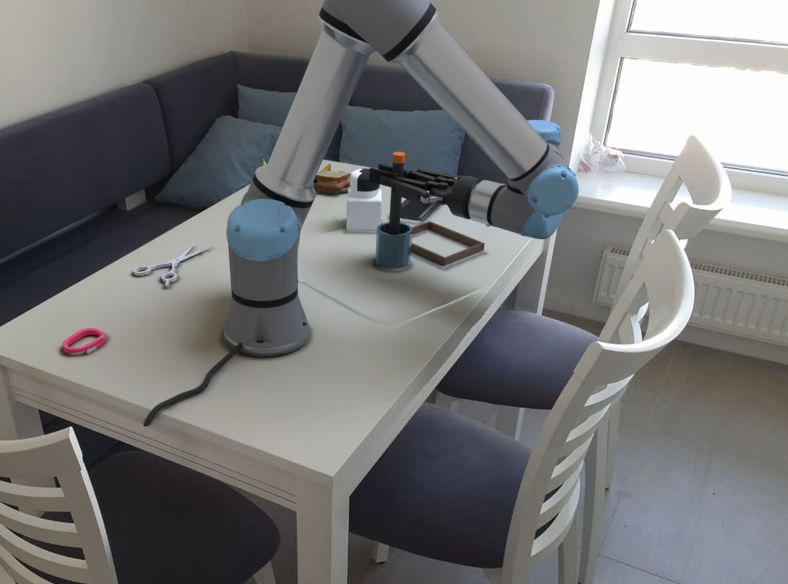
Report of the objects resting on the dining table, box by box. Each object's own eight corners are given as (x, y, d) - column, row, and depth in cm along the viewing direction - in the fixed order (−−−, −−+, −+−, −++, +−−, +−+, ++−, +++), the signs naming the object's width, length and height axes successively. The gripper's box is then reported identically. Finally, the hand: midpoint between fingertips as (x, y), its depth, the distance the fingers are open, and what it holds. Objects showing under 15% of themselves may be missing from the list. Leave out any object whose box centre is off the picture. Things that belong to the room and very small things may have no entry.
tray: (444, 269, 165) (445, 258, 163) (389, 244, 176) (390, 234, 174) (483, 253, 171) (484, 243, 170) (428, 230, 182) (429, 220, 180)
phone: (442, 198, 195) (420, 219, 184) (442, 202, 195) (420, 223, 185) (412, 193, 198) (388, 213, 187) (412, 197, 199) (388, 218, 188)
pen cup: (392, 275, 163) (394, 238, 159) (368, 263, 168) (369, 227, 163) (417, 265, 167) (419, 229, 162) (393, 254, 171) (395, 219, 167)
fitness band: (80, 359, 138) (78, 352, 137) (56, 350, 141) (54, 343, 140) (112, 339, 144) (111, 331, 143) (89, 330, 146) (87, 323, 146)
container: (380, 220, 187) (382, 165, 180) (380, 233, 181) (382, 177, 174) (347, 219, 188) (348, 165, 181) (346, 232, 182) (347, 177, 174)
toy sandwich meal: (368, 183, 208) (369, 166, 205) (339, 199, 199) (340, 181, 196) (329, 174, 214) (329, 157, 212) (299, 189, 205) (299, 171, 203)
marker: (393, 243, 163) (398, 156, 153) (385, 239, 164) (390, 153, 154) (401, 240, 164) (407, 153, 154) (393, 236, 166) (399, 150, 156)
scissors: (125, 273, 164) (184, 238, 178) (126, 277, 164) (184, 241, 179) (167, 284, 159) (223, 247, 174) (167, 288, 160) (223, 250, 174)
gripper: (452, 231, 144) (350, 201, 158) (495, 207, 154) (396, 180, 167) (456, 191, 140) (351, 163, 153) (500, 169, 149) (398, 145, 163)
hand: (375, 172), depth 160 cm, fingers closed on marker, 2 cm apart
